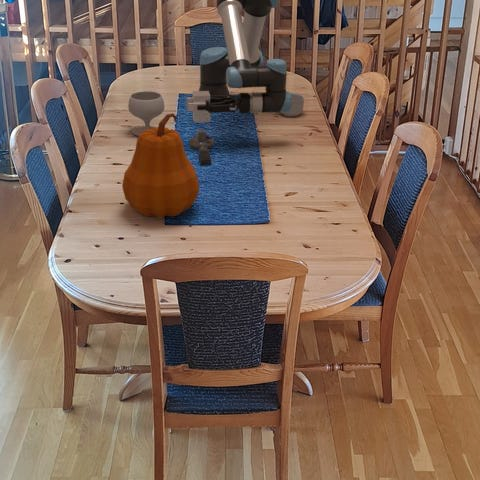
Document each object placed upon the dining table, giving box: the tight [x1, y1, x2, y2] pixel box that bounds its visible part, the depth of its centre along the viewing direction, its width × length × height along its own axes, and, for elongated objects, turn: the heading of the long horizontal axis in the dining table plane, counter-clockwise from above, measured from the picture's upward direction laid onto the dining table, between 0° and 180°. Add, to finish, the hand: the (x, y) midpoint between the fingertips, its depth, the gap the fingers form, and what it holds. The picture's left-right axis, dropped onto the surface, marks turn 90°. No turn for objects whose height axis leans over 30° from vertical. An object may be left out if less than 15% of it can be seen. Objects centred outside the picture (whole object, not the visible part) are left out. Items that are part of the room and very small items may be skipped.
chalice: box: [127, 91, 165, 137], centre depth 294 cm, size 14×14×15 cm
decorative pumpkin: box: [121, 113, 201, 219], centre depth 229 cm, size 24×24×30 cm
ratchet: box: [189, 129, 215, 166], centre depth 278 cm, size 24×9×6 cm, turn 7°
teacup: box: [280, 92, 305, 118], centre depth 319 cm, size 14×11×8 cm
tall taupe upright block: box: [192, 90, 211, 123], centre depth 279 cm, size 6×6×10 cm
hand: (187, 104), depth 278 cm, fingers closed on tall taupe upright block, 6 cm apart
